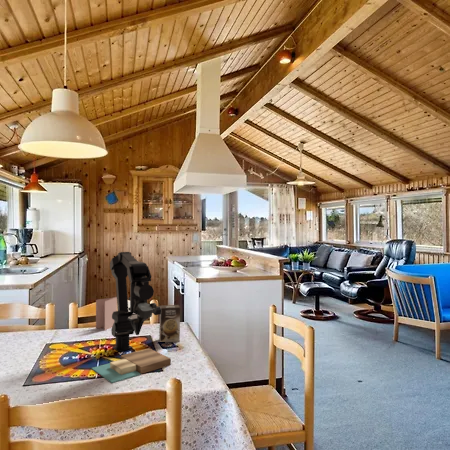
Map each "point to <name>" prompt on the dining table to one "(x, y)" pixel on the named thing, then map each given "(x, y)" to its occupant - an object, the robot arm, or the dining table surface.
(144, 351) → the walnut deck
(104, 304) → the greeting card
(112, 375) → the teal mat
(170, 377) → the dining table surface
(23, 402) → the dining table surface
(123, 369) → the birch tile
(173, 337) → the coffee box
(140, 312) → the robot arm
